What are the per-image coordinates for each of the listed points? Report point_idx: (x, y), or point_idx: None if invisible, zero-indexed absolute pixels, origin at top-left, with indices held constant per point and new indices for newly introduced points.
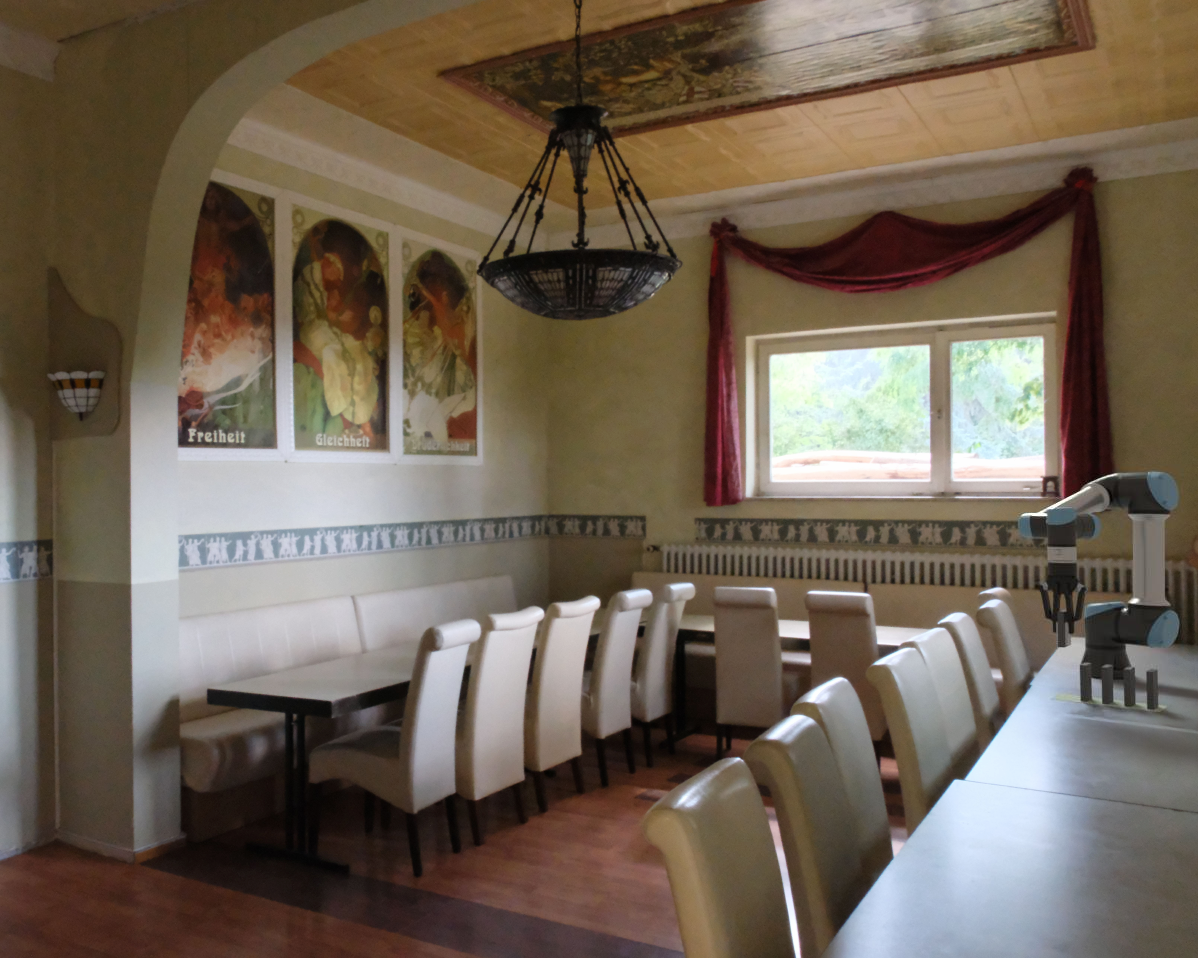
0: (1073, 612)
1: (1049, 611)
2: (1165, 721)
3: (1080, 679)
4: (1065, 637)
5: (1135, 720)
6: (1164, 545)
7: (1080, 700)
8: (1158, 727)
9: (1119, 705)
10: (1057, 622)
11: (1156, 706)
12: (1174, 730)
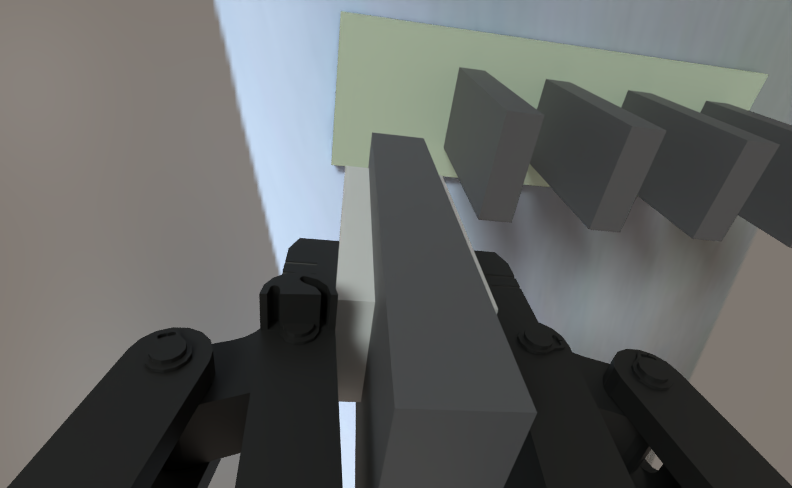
0: (607, 467)
1: (130, 453)
2: (681, 275)
3: (462, 184)
4: None
5: (599, 301)
6: None
7: (442, 137)
8: (641, 344)
9: None
10: (342, 394)
11: None
12: (672, 354)
